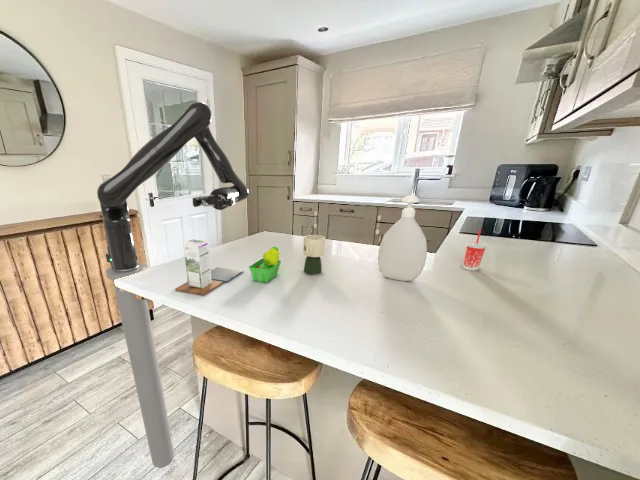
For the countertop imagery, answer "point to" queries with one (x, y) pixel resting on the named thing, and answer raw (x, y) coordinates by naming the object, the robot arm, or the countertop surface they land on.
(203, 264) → the syrup box
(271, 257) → the fruit basket
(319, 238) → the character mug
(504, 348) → the countertop surface
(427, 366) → the countertop surface
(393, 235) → the soap bottle
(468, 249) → the beverage cup
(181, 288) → the wooden coaster
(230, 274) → the slate pad
